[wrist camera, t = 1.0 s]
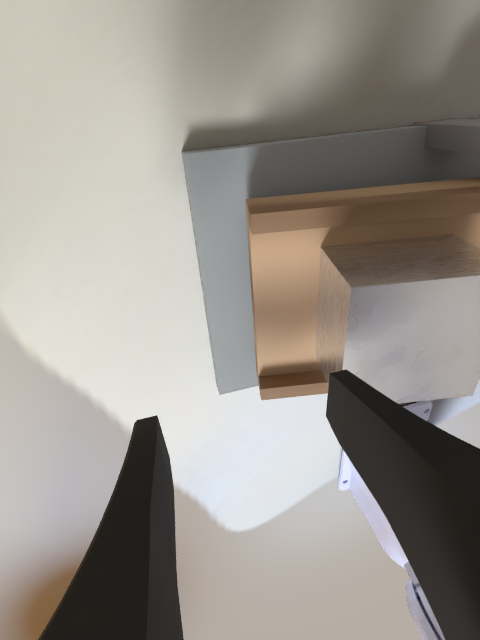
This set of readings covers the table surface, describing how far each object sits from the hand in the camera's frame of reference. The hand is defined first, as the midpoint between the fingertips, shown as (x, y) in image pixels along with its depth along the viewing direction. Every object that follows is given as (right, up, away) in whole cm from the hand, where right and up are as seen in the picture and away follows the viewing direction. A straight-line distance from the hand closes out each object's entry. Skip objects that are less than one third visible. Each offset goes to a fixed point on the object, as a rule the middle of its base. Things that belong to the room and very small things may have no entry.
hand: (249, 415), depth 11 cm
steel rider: (+7, +4, +6) cm, 9 cm away
